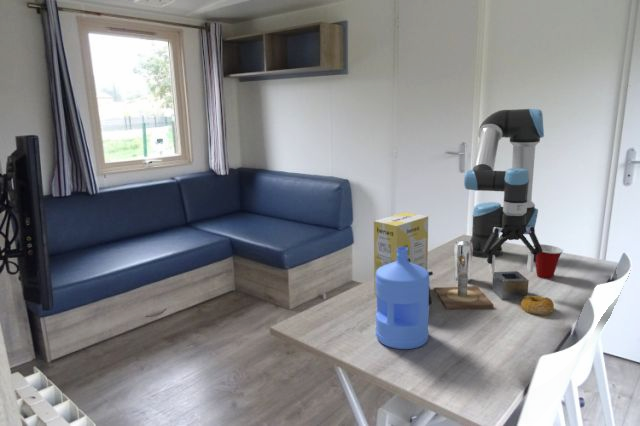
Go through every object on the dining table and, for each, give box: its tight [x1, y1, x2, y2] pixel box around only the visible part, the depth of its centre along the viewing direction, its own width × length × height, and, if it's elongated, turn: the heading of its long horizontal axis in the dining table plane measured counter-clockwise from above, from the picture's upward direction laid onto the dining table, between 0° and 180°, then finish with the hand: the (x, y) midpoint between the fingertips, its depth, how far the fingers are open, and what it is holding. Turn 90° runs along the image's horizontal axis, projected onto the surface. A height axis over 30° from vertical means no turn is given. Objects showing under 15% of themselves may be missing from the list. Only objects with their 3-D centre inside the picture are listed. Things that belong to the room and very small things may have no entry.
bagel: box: [520, 295, 555, 316], centre depth 149 cm, size 10×11×5 cm
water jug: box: [375, 247, 430, 350], centre depth 131 cm, size 16×16×28 cm
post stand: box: [433, 272, 494, 311], centre depth 157 cm, size 16×16×10 cm
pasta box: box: [373, 211, 429, 295], centre depth 165 cm, size 18×10×28 cm, turn 131°
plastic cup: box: [532, 243, 564, 280], centre depth 175 cm, size 11×11×12 cm
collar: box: [491, 270, 530, 301], centre depth 160 cm, size 9×9×7 cm
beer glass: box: [453, 240, 474, 282], centre depth 175 cm, size 7×7×15 cm
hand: (510, 271), depth 159 cm, fingers open, 13 cm apart
